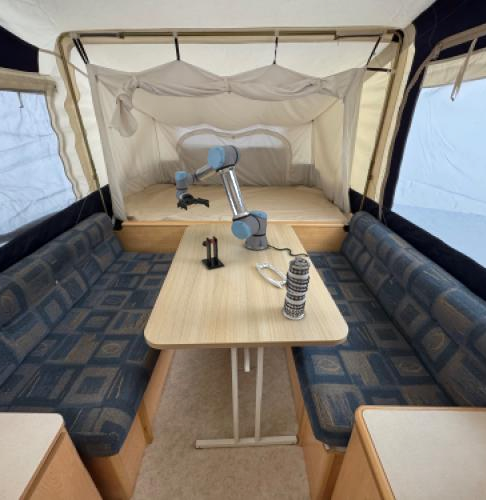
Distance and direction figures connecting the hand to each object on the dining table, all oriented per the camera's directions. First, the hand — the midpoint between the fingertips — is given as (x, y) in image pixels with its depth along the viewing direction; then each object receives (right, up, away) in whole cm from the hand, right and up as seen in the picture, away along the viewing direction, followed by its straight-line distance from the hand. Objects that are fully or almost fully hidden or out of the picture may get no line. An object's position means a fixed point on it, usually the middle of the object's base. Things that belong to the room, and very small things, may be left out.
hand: (197, 206), depth 156 cm
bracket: (+9, -33, -5) cm, 35 cm away
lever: (+7, -23, -5) cm, 24 cm away
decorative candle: (+47, -52, -44) cm, 83 cm away
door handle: (+41, -39, -16) cm, 59 cm away
